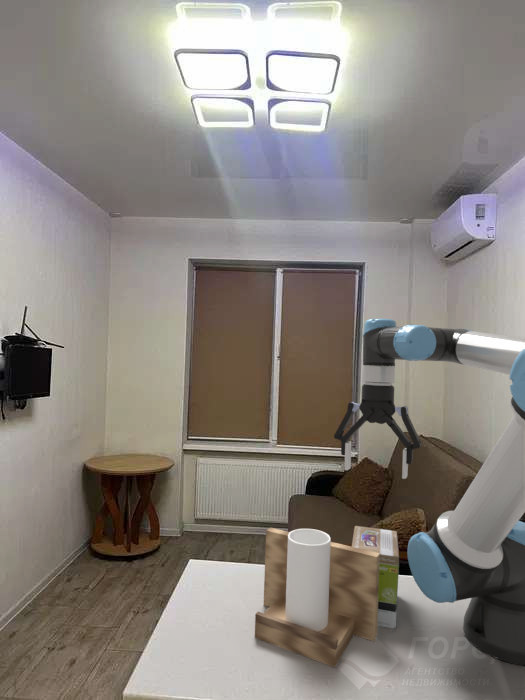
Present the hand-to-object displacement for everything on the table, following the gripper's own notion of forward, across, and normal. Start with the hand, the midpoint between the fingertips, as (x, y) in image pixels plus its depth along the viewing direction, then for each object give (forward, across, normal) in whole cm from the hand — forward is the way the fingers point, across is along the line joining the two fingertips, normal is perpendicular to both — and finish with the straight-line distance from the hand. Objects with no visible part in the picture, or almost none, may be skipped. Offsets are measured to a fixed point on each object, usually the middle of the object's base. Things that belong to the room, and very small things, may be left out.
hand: (375, 473), depth 110 cm
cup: (+24, +6, +26) cm, 36 cm away
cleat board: (+27, +6, +26) cm, 37 cm away
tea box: (+27, -2, +9) cm, 28 cm away
